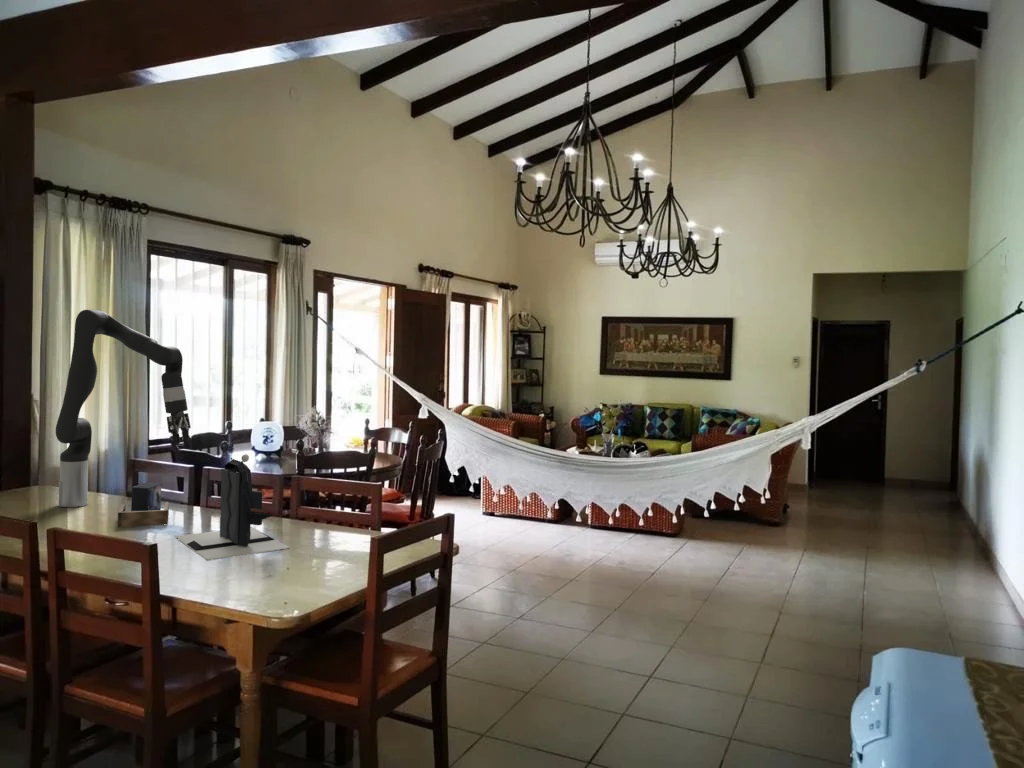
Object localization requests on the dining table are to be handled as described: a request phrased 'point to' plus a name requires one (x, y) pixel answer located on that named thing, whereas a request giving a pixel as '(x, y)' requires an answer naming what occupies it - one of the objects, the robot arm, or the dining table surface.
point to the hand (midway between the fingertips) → (181, 442)
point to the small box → (146, 497)
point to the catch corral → (143, 517)
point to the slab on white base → (235, 519)
